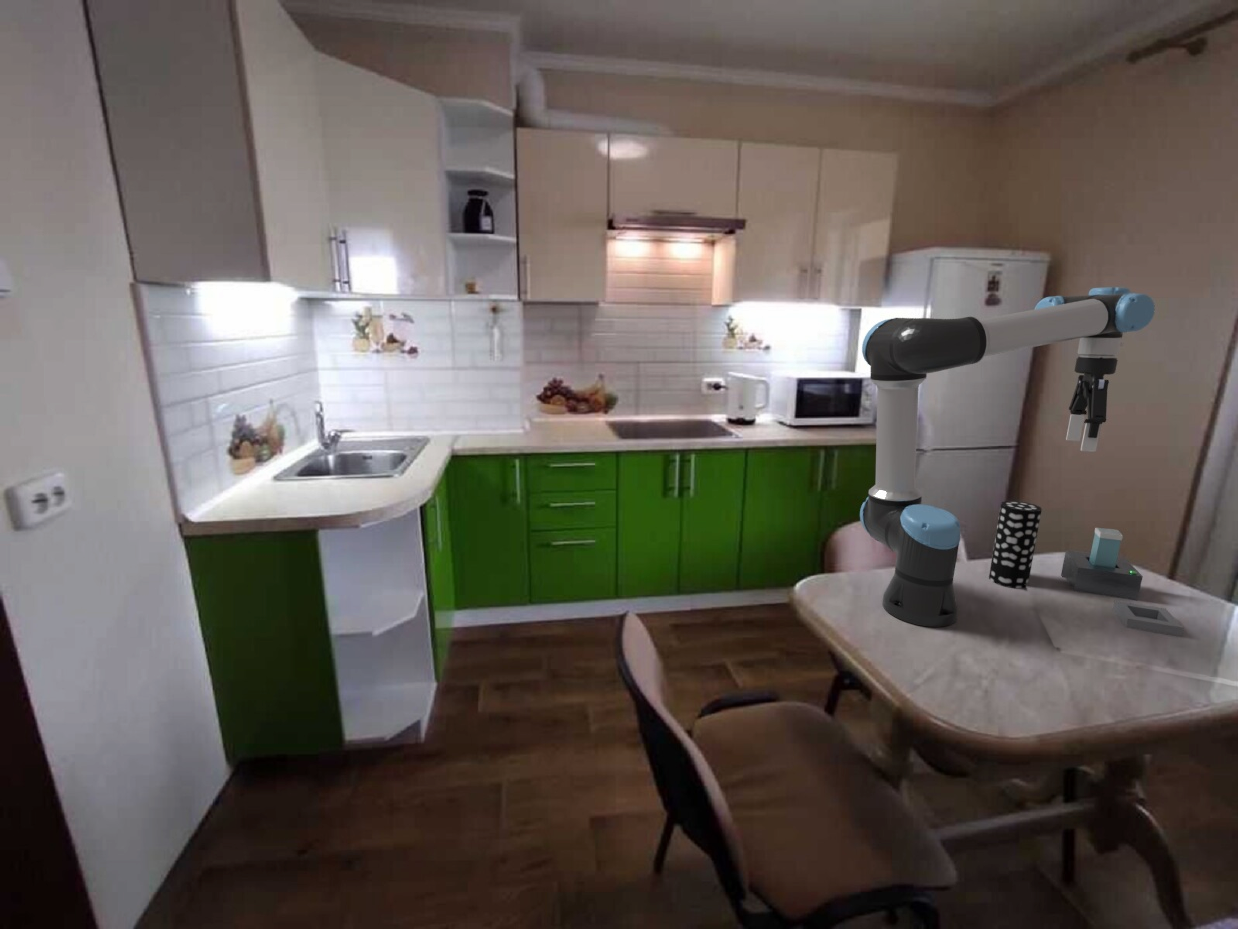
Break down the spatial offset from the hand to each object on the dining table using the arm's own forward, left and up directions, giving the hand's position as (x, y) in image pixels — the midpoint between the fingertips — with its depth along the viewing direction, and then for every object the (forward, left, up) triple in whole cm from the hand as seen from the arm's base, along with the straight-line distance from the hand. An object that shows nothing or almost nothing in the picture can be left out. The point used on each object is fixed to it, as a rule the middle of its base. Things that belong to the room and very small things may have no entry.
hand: (1080, 445), depth 141 cm
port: (+8, -3, -35) cm, 36 cm away
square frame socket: (+12, -21, -35) cm, 42 cm away
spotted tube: (-11, -7, -35) cm, 37 cm away
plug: (+8, -3, -32) cm, 33 cm away
